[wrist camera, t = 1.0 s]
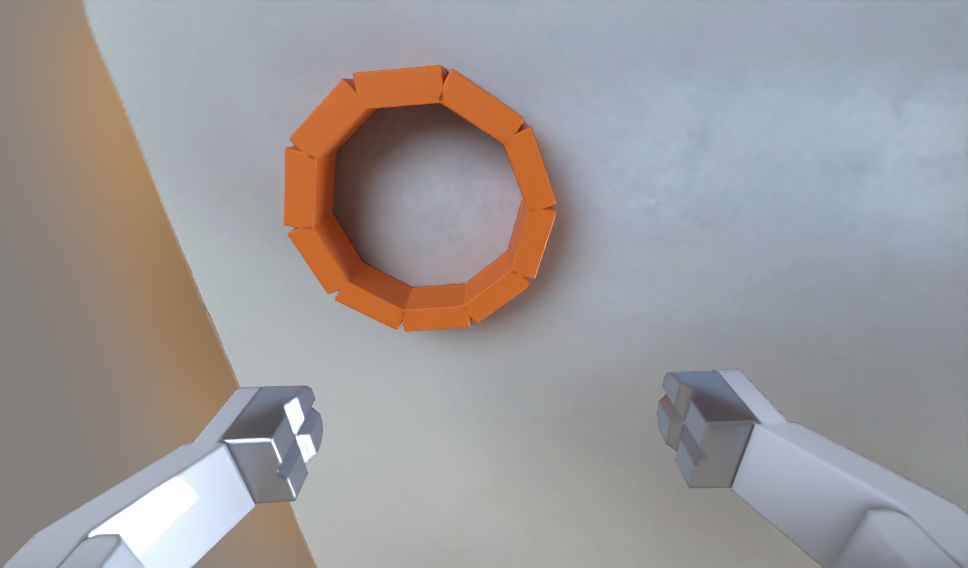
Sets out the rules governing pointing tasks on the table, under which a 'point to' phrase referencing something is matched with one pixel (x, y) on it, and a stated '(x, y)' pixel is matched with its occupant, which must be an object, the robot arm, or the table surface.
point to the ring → (333, 250)
